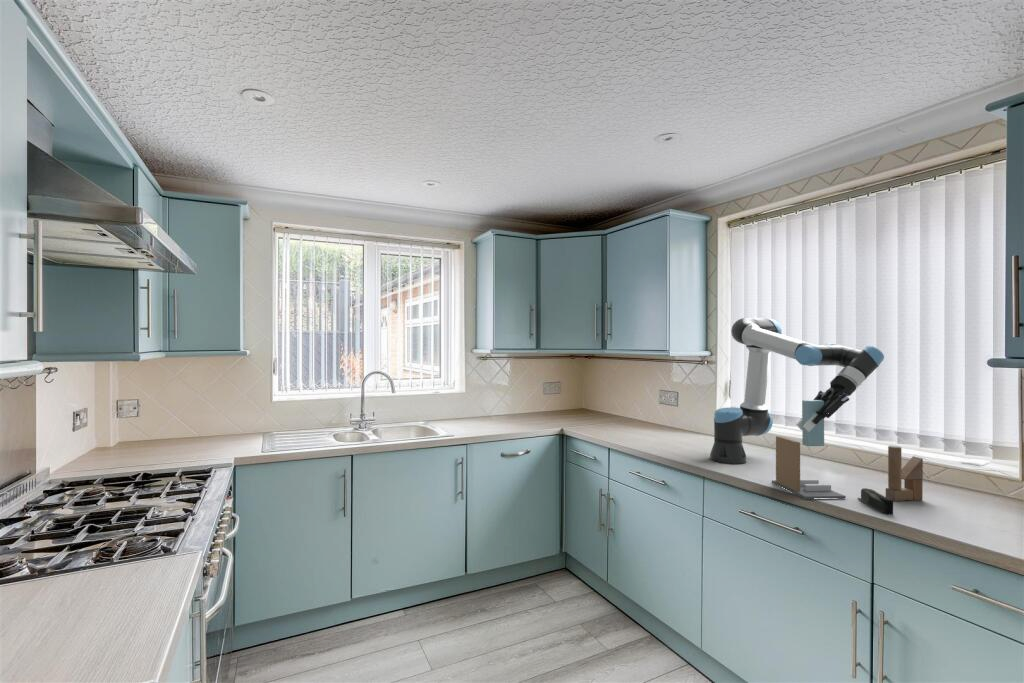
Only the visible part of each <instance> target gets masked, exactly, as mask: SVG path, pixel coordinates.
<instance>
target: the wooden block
mask: <svg viewBox="0 0 1024 683" xmlns="http://www.w3.org/2000/svg"><path fill="white" fill-rule="evenodd" d="M887 449H888V450H887V452H888V453H887V460H888V461H887V462H888V464H887V474H888V475H887V476H888V477H887V480H888V482H887V484H888V485H887V486H888V487H885V497H886V498H888V499H890V500H892V501H893V502H906V501H905V500H912V501H913V500H918V501H923V500H924V499H923V497H924V496H923V494H924V493H923V490H924V489H923V479H924V474H923V473H924V468H923V467H924V465H923V464H924V462H923V461H924V459H923V458H922V457H919V456H918V457H917V456H913V455H912V457H911V458H910V459H909V460H908V461H907V463H906V464H905V465H904V466H903V467H902V447H901V446H900V445H899V446H898V445H888V446H887ZM902 480H903V481H904V483H903V484H904V487H902Z"/></svg>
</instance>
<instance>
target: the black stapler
mask: <svg viewBox="0 0 1024 683" xmlns="http://www.w3.org/2000/svg"><path fill="white" fill-rule="evenodd" d="M857 500H859V501H860V502H863V504H865V505H867V506H868V507H871V508H872V509H874V508H875V509H874V510H876V509H877V510H876V511H877V512H879V511H880V513H881V512H882V513H881V514H884V513H885V515H889V514H892V515H894V501H893V500H890V499H888V498H886V495H882V494H881V493H879V492H877V491H876V490H874V489H872V488H871V489H870V488H865V487H863V488H861V490H860V497H857Z"/></svg>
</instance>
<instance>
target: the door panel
mask: <svg viewBox="0 0 1024 683" xmlns="http://www.w3.org/2000/svg"><path fill="white" fill-rule="evenodd" d="M801 402H802V403H801V406H802V408H801V410H802V411H801V412H802V413H801V414H802V415H801V416H802V417H801V419H802V430H801V431H802V437H801V438H802V445H803V446H805V447H825V418H824V419H821V420H820V421H819V423H818V424H816V425H815V426H814V428H813V429H812V430H811V431H810V432H808V431H807V430H806V429H805V428H804V427H803V425H804V424H805V423H806V422H807V421H808V420H809V419H810V418H811V417H812V416H813V415H814V414H815V413H816V411H819V410H820V409H821V408H822V407H823V405H824V401H821V400H814V399H804V400H803V399H802V401H801ZM816 414H817V413H816ZM817 415H818V414H817Z"/></svg>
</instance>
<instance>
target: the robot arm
mask: <svg viewBox="0 0 1024 683" xmlns="http://www.w3.org/2000/svg"><path fill="white" fill-rule="evenodd" d="M730 332H731V337H732V339H733V340H735V342H737V343H738V344H739V343H740V344H743V345H745V347H746V348H747V349H748V359H747V367H746V368H747V371H746V379H745V380H746V381H745V390H744V391H745V392H744V401H743V402H741V403H740V406H739V407H736V406H735V407H733V406H731V407H721V408H717V409H716V410H715V412H714V418H713V422H714V424H713V426H714V427H713V428H714V432H713V434H714V436H713V437H714V440H713V441H714V442H713V445H712V447H711V451H710V453H709V454H710V455H709V459H710V460H711V461H713V460H714V461H713V462H716V461H717V462H718V463H721V462H723V463H722V464H729V463H732V464H731V465H739V464H740V465H741V464H745V463H747V455H746V451H745V449H744V445H743V437H748V436H749V437H750V436H755V437H759V436H763V435H766V434H768V432H770V431H771V429H772V427H773V424H774V423H773V422H774V420H773V417H772V414H771V412H770V411H769V407H768V406H767V405H766V397H767V396H766V395H767V387H768V377H769V369H770V368H769V367H770V356H771V352H772V353H775V354H778V355H781V356H784V357H787V358H790V359H793V360H795V361H797V362H798V363H799V365H801V366H808V367H815V366H816V367H817V366H818V367H819V366H838V367H842V370H840V371H839V372H838V373H837V375H835V376H834V377H833V379H832V380H831V381H830V383H829V384H830V387H828V389H826V390H825V391H822V390H820V391H818V393H817V395H816V396H815V397H814V398H813V400H821V401H824V405H823V407H822V408H821V409H820V410H819V411H816V413H817V414H818V415H817V414H816V413H815V414H814V415H813V416H812V417H811V418H810V419H809V420H808V421H807V422H806V423H805V424H804V425H803V427H804V428H805V429H806V430H807V431H808V432H810V431H811V430H812V429H813V428H814V426H815V425H816V424H818V423H819V421H820V420H821V419H824V420H825V418H826V419H830V418H831V416H833V414H835V413H836V412H837V411H838V410H839V409H840V408H842V406H843V405H844V404H846V403H847V402H848V401H850V398H849V397H850V396H851V395H852V394H853V393H854V392H855V391H856V390H857V389H858V388H859V387H860V386H862V384H863V383H864V381H866V379H868V377H869V376H871V374H872V373H873V372H874V371H875V370H877V368H879V366H880V364H882V363H883V361H884V360H885V355H884V353H883V351H881V350H880V349H879V348H878V347H876V346H874V345H864V346H863V347H861V349H856V348H852V347H848V346H845V345H841V344H838V343H832V342H828V343H826V344H824V345H820V344H814V343H809V342H807V341H803V340H800V339H797V338H793V337H790V336H788V335H784V334H783V330H782V327H781V325H780V324H779V323H778V321H776V320H775V319H774V318H766V317H743V318H739V319H737V320H736V321H735V322H734V323H733V325H732V326H731V331H730ZM795 426H796V427H797V428H799V429H800V430H801V431H802V418H800V420H799V421H798V422H797V423H796V424H795Z"/></svg>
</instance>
